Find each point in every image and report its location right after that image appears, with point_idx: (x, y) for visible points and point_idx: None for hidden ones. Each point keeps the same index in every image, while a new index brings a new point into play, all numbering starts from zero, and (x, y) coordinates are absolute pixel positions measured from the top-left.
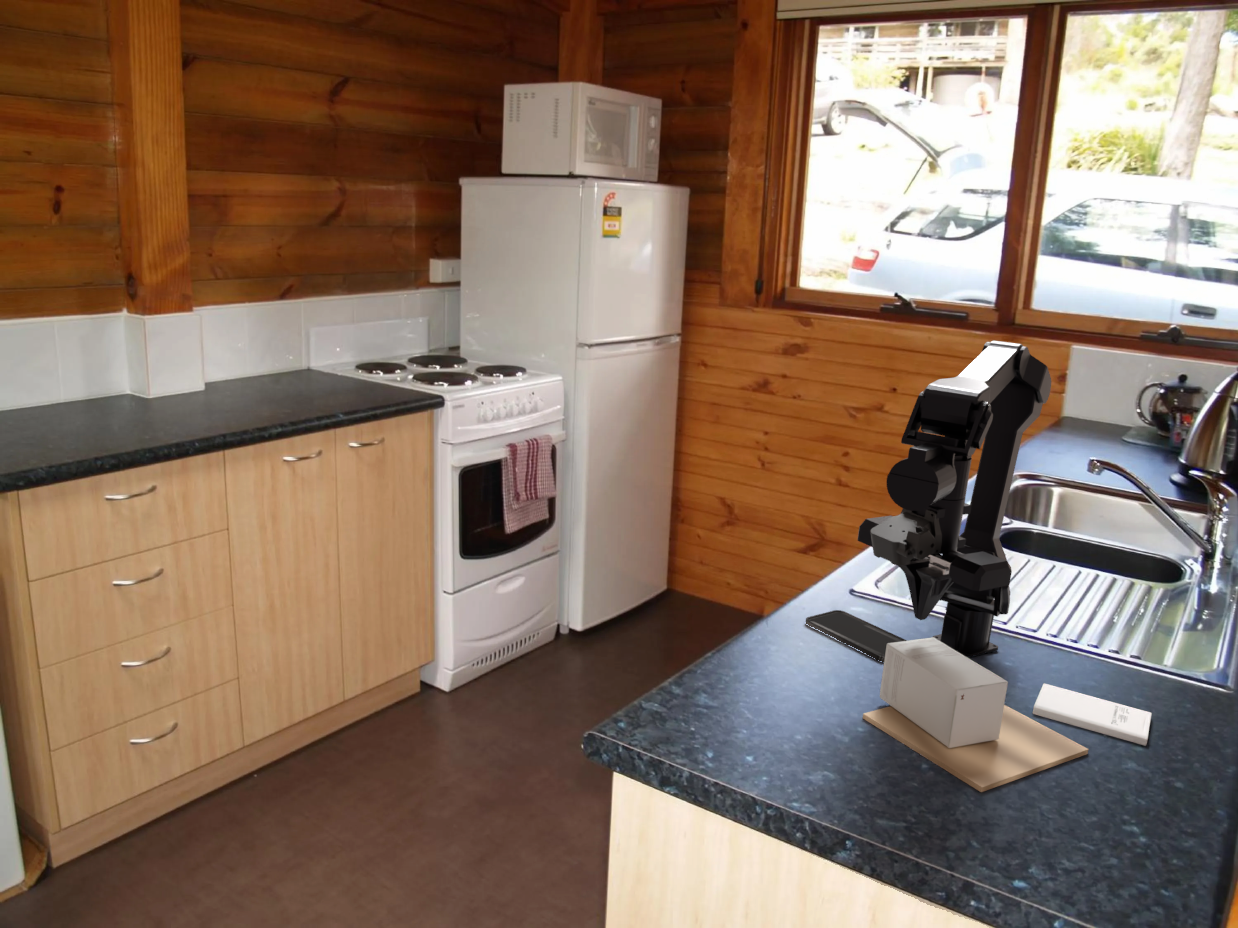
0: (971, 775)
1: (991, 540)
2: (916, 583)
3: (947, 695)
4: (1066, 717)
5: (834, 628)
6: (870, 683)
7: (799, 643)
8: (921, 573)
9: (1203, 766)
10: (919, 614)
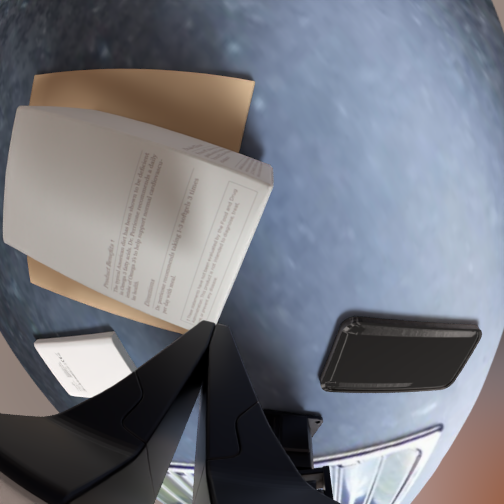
0: (49, 83)
1: None
2: (204, 440)
3: (48, 107)
4: (82, 339)
5: (444, 343)
6: (327, 227)
7: (472, 265)
8: (12, 456)
9: (9, 333)
10: (202, 329)
